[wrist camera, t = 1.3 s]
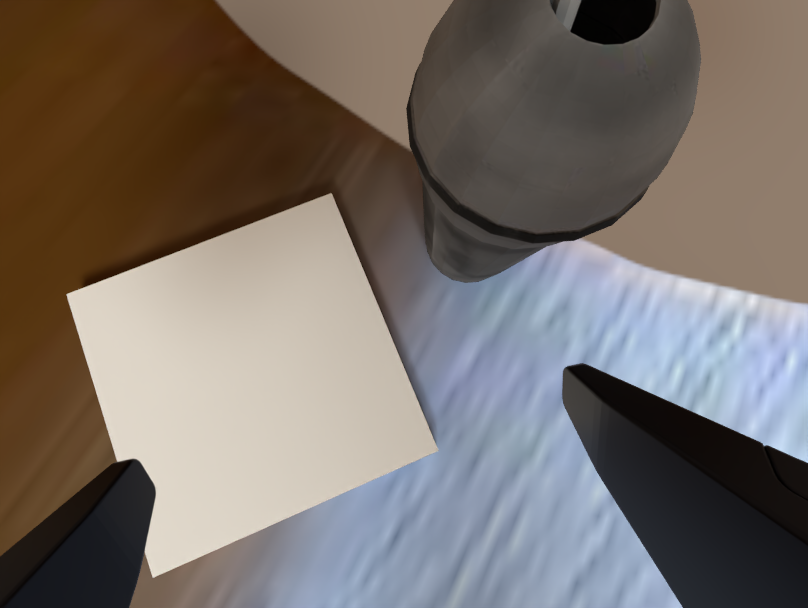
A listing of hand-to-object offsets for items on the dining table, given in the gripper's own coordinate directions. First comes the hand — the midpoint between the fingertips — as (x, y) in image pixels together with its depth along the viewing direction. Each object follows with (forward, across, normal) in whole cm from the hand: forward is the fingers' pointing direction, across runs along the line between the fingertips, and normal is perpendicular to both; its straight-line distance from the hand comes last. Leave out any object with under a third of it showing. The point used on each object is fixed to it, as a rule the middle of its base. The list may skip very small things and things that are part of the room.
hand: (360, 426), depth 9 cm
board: (+12, +6, +6) cm, 15 cm away
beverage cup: (+15, -6, +2) cm, 16 cm away
